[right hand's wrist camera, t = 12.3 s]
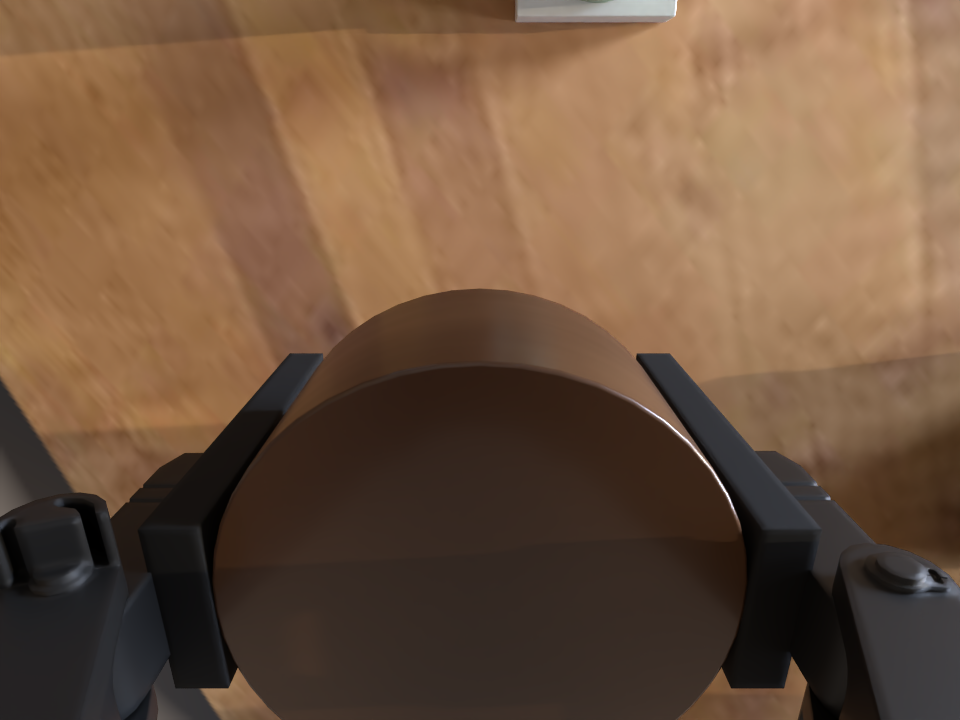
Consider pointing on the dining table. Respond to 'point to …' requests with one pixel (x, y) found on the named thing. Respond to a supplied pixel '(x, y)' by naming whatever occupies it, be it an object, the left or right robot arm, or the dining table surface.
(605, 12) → the jar stand
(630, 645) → the brown cylinder
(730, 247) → the dining table surface
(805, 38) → the dining table surface
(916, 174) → the dining table surface
